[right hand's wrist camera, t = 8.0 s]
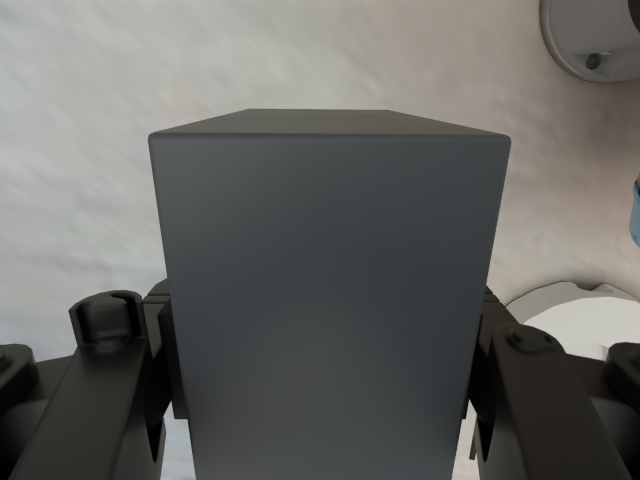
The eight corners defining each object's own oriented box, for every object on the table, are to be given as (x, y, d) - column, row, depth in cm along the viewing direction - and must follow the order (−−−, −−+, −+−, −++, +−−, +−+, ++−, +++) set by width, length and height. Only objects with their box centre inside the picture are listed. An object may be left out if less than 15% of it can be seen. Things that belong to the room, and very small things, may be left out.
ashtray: (434, 354, 50) (443, 375, 46) (598, 243, 45) (623, 256, 41) (527, 453, 56) (542, 479, 53) (681, 366, 51) (710, 387, 47)
